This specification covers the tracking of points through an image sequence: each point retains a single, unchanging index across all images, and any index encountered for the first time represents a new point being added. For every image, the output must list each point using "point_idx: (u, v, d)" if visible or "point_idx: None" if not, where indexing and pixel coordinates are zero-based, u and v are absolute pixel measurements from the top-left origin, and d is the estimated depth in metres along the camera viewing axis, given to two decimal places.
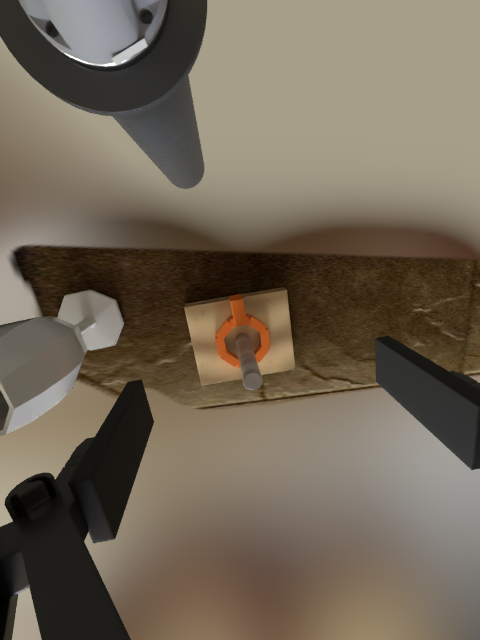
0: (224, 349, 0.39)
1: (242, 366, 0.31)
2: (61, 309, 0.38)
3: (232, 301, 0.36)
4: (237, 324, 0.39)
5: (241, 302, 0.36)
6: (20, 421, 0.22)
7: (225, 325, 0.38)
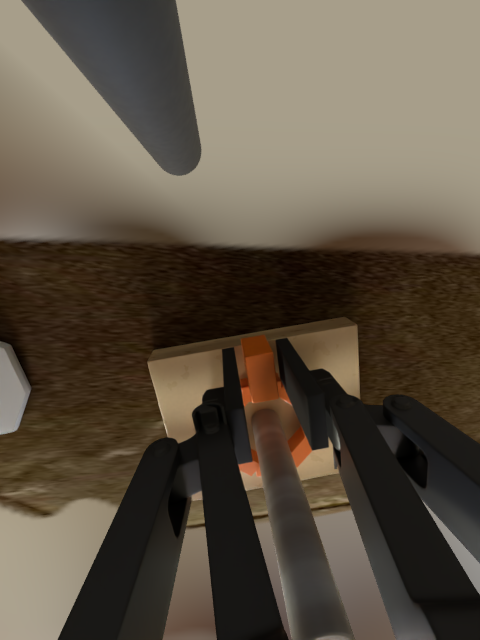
0: None
1: (282, 558, 0.11)
2: None
3: (249, 358, 0.16)
4: None
5: (269, 360, 0.16)
6: None
7: None
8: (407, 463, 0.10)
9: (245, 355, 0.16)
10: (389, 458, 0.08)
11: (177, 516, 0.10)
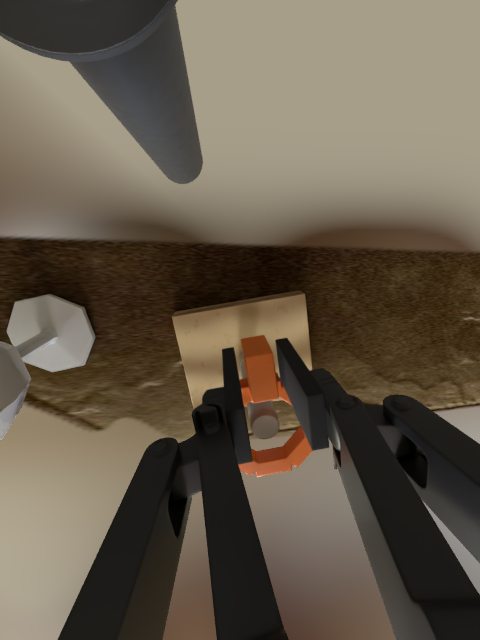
0: None
1: None
2: (11, 319, 0.29)
3: (249, 358, 0.16)
4: None
5: (269, 360, 0.16)
6: None
7: None
8: (407, 463, 0.10)
9: (245, 355, 0.16)
10: (389, 458, 0.08)
11: (177, 516, 0.10)
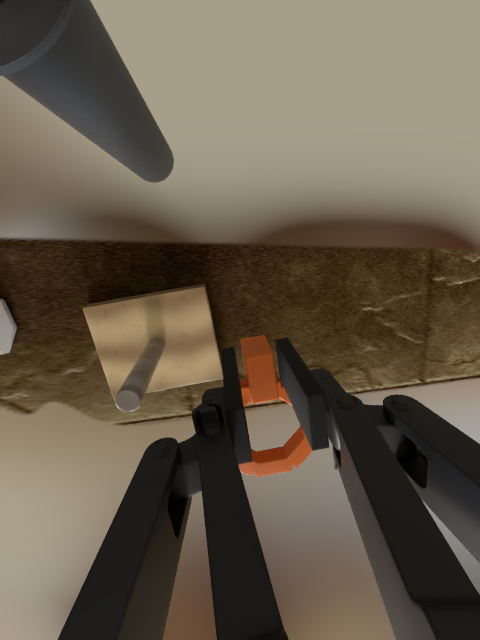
0: None
1: None
2: None
3: (249, 358, 0.16)
4: None
5: (269, 360, 0.16)
6: None
7: None
8: (407, 463, 0.10)
9: (245, 355, 0.16)
10: (389, 458, 0.08)
11: (177, 516, 0.10)
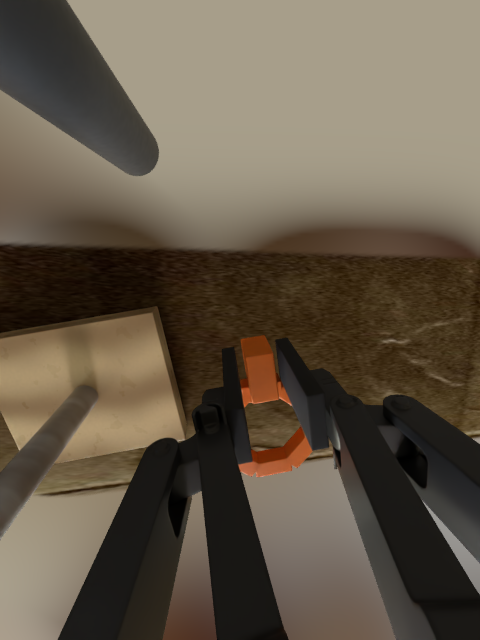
0: None
1: None
2: None
3: (249, 359, 0.16)
4: None
5: (269, 360, 0.16)
6: None
7: None
8: (407, 463, 0.10)
9: (245, 355, 0.16)
10: (389, 458, 0.08)
11: (177, 516, 0.10)
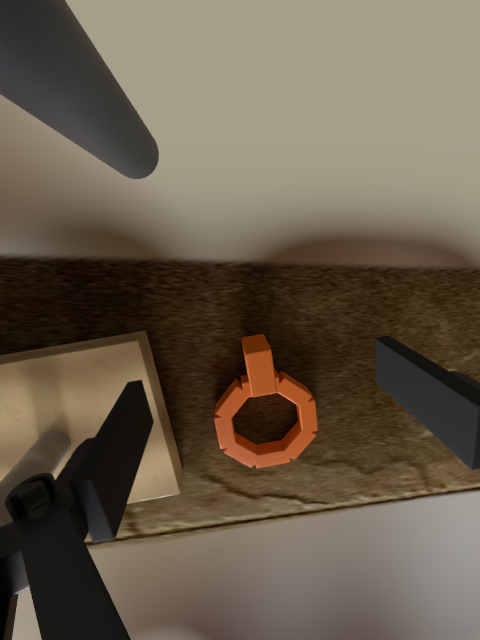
0: (231, 437, 0.21)
1: None
2: None
3: (249, 355, 0.17)
4: None
5: (267, 356, 0.17)
6: None
7: (233, 394, 0.20)
8: None
9: (245, 352, 0.17)
10: None
11: None
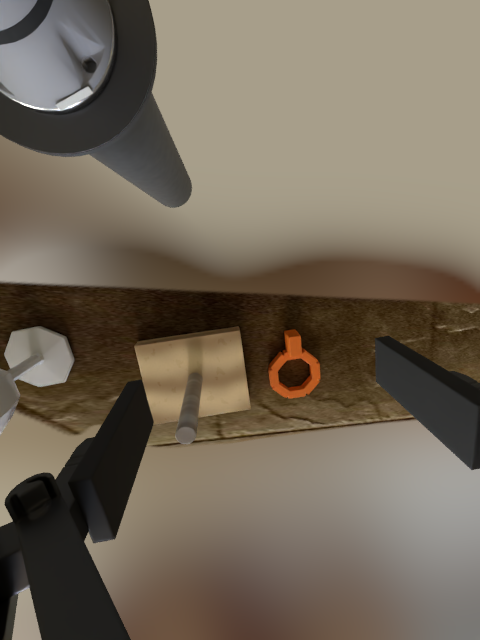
0: (277, 381, 0.41)
1: (180, 415, 0.30)
2: (8, 345, 0.38)
3: (290, 338, 0.38)
4: (291, 358, 0.41)
5: (299, 339, 0.38)
6: None
7: (279, 358, 0.41)
8: None
9: (288, 336, 0.38)
10: None
11: None
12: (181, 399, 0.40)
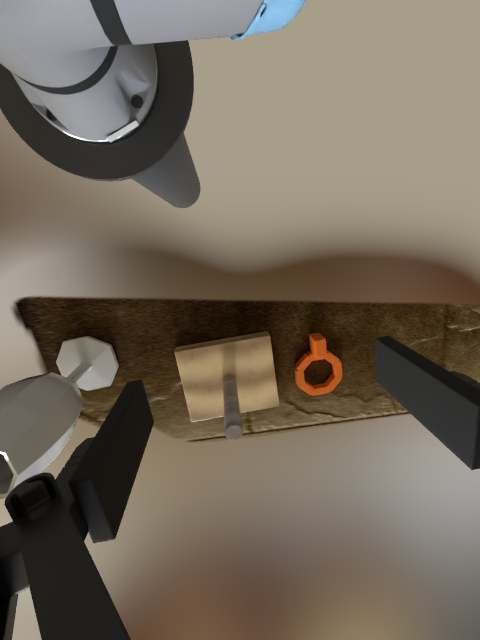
0: (303, 380, 0.45)
1: (225, 415, 0.34)
2: (60, 354, 0.41)
3: (316, 341, 0.42)
4: (315, 358, 0.44)
5: (324, 342, 0.42)
6: None
7: (305, 359, 0.44)
8: None
9: (315, 340, 0.42)
10: None
11: None
12: (216, 398, 0.44)
